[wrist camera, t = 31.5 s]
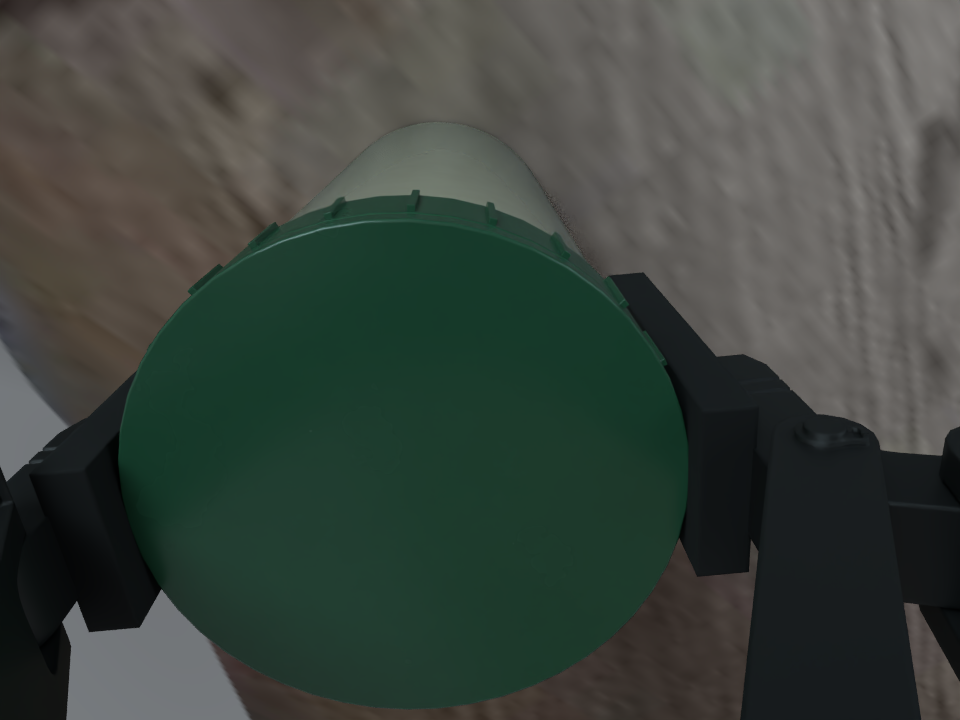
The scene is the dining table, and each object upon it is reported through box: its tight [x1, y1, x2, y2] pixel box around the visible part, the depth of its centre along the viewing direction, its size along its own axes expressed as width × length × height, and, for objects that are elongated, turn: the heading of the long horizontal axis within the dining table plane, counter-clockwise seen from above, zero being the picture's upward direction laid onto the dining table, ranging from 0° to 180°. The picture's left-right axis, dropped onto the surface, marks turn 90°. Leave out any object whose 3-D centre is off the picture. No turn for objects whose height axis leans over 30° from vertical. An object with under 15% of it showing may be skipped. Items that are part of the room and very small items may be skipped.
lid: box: [118, 190, 689, 709], centre depth 11 cm, size 8×8×2 cm
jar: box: [288, 122, 587, 262], centre depth 19 cm, size 8×8×16 cm
